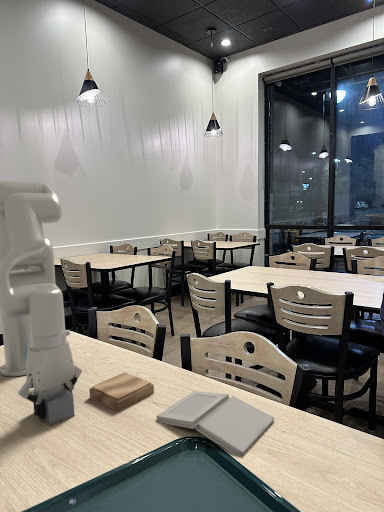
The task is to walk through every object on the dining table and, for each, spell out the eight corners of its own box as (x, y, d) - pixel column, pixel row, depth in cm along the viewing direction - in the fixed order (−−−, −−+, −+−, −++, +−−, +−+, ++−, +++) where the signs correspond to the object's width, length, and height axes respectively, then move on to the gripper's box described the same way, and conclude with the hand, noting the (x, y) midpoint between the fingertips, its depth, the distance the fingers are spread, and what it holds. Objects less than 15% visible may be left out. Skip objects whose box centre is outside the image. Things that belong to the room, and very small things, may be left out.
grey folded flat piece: (275, 423, 80) (274, 408, 79) (242, 460, 68) (241, 442, 68) (194, 396, 94) (194, 383, 93) (155, 422, 82) (154, 407, 81)
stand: (89, 397, 94) (89, 386, 93) (125, 381, 103) (124, 371, 102) (118, 411, 86) (117, 400, 86) (154, 392, 95) (153, 382, 95)
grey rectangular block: (35, 411, 87) (33, 390, 87) (58, 402, 91) (57, 382, 91) (49, 426, 81) (47, 403, 80) (74, 415, 85) (73, 393, 84)
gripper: (73, 328, 93) (77, 393, 95) (4, 347, 80) (11, 422, 82) (89, 333, 88) (93, 401, 90) (19, 354, 75) (25, 433, 77)
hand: (54, 410), depth 86 cm, fingers closed on grey rectangular block, 6 cm apart
